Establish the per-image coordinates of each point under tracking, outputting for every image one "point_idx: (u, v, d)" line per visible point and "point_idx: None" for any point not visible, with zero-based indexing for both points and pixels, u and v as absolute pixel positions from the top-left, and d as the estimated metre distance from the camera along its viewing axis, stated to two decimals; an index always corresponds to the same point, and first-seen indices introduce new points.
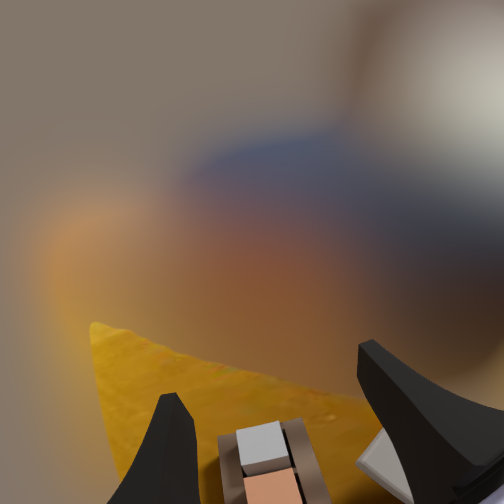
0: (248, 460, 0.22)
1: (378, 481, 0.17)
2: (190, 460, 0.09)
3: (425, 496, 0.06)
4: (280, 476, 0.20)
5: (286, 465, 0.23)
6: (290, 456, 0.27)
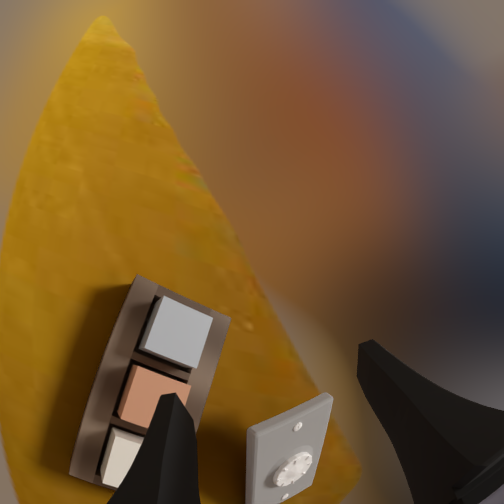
0: (155, 345, 0.20)
1: (249, 452, 0.21)
2: (190, 461, 0.09)
3: (425, 496, 0.06)
4: (174, 388, 0.20)
5: (183, 366, 0.23)
6: None
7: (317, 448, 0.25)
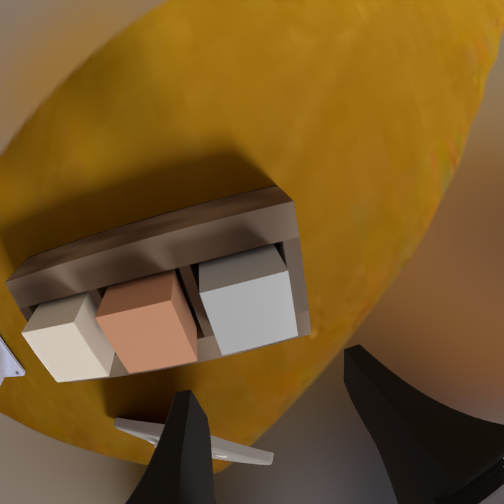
0: (212, 302, 0.14)
1: None
2: (206, 459, 0.09)
3: None
4: (179, 349, 0.15)
5: None
6: None
7: (214, 458, 0.23)
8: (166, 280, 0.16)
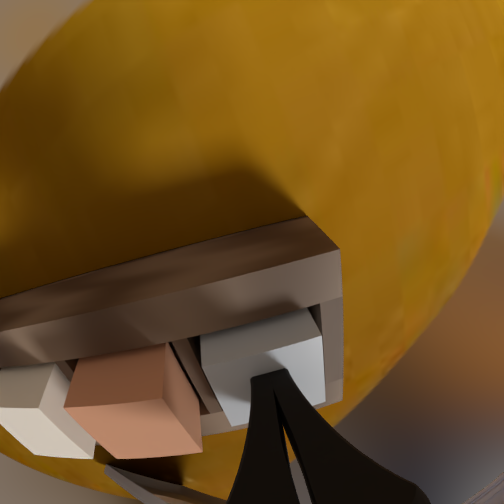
0: (219, 376, 0.10)
1: (148, 498, 0.13)
2: (285, 443, 0.09)
3: None
4: (179, 442, 0.10)
5: None
6: None
7: None
8: (155, 358, 0.10)
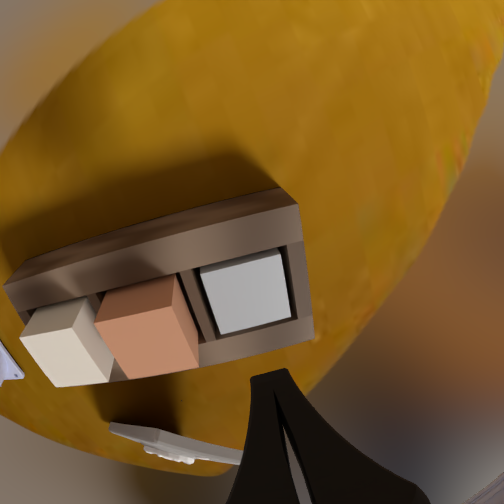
0: (212, 283, 0.16)
1: (141, 431, 0.17)
2: (284, 443, 0.09)
3: None
4: (180, 355, 0.15)
5: None
6: None
7: None
8: (166, 285, 0.15)
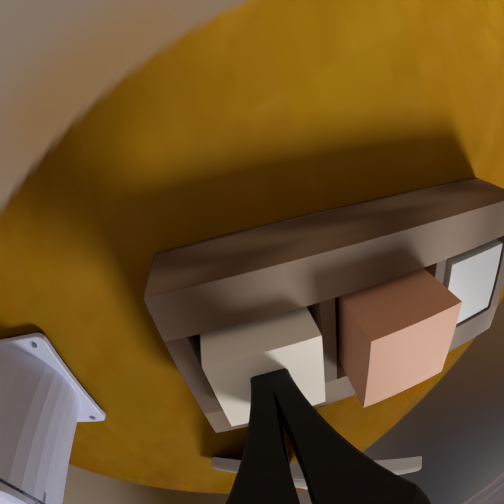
0: (456, 275, 0.12)
1: None
2: (285, 443, 0.09)
3: None
4: (436, 361, 0.11)
5: None
6: None
7: None
8: (426, 279, 0.11)
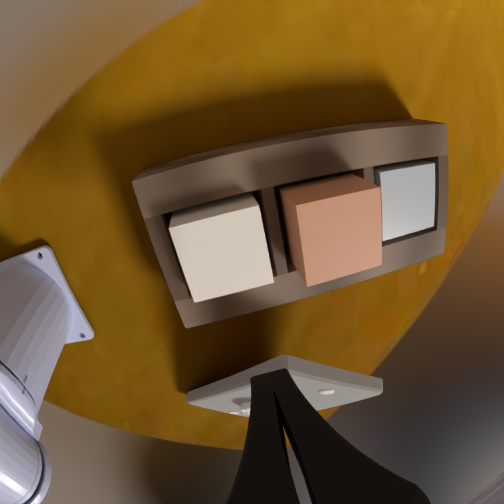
0: (387, 183, 0.15)
1: (254, 372, 0.17)
2: (284, 442, 0.09)
3: None
4: (371, 248, 0.14)
5: None
6: None
7: None
8: (354, 178, 0.15)
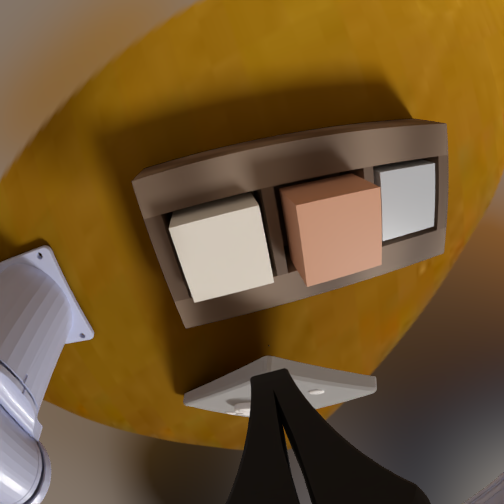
0: (387, 183, 0.15)
1: (241, 373, 0.16)
2: (284, 442, 0.09)
3: None
4: (371, 248, 0.14)
5: None
6: None
7: None
8: (354, 178, 0.15)
